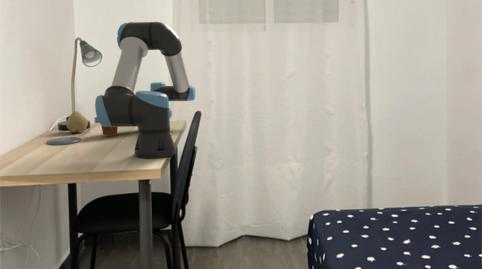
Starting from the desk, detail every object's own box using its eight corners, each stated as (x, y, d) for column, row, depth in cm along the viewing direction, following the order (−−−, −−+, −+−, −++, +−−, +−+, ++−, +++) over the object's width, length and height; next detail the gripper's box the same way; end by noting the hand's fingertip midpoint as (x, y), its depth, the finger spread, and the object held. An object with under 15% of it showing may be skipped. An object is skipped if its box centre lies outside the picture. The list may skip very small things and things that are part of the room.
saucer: (68, 145, 195) (68, 143, 195) (39, 144, 199) (39, 142, 198) (87, 139, 208) (87, 137, 208) (60, 138, 212) (60, 136, 212)
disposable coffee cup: (124, 133, 215) (123, 107, 213) (106, 136, 209) (104, 109, 207) (113, 131, 222) (111, 106, 220) (95, 134, 215) (93, 108, 213)
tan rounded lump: (84, 129, 235) (82, 108, 233) (90, 133, 225) (89, 111, 223) (63, 132, 230) (62, 110, 228) (69, 135, 220) (67, 112, 218)
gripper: (155, 125, 220) (112, 131, 204) (131, 121, 235) (89, 127, 219) (154, 109, 219) (111, 114, 203) (130, 106, 233) (87, 111, 217)
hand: (99, 121), depth 211 cm, fingers closed on disposable coffee cup, 8 cm apart
